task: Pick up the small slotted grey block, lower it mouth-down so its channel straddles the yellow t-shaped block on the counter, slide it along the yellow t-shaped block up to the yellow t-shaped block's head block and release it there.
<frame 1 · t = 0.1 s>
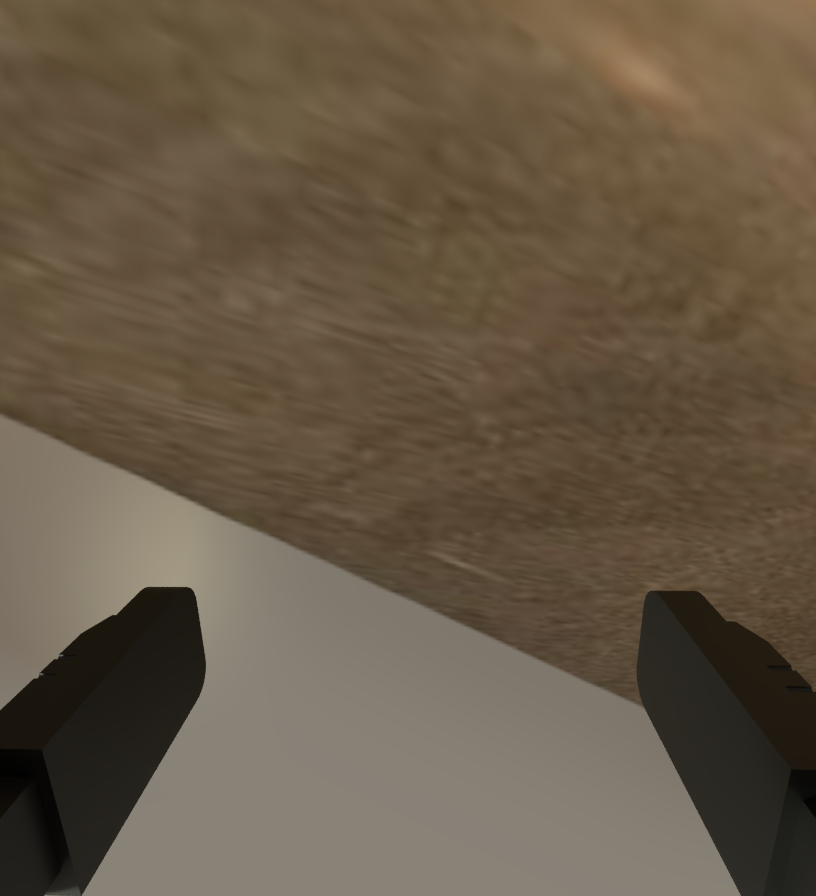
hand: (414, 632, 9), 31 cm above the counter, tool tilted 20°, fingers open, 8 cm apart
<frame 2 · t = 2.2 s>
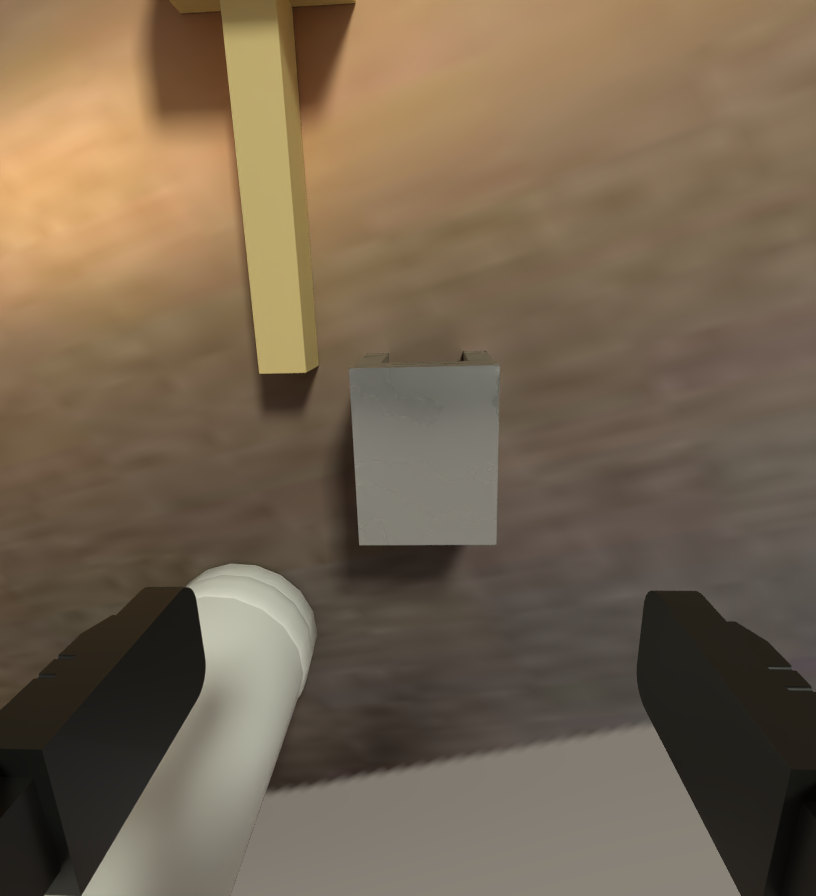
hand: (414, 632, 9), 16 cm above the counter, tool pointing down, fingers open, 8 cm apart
slotted grey block: (427, 426, 25), on the counter
bottle: (248, 623, 29), on the counter
yellow t-shaped block: (283, 202, 22), on the counter
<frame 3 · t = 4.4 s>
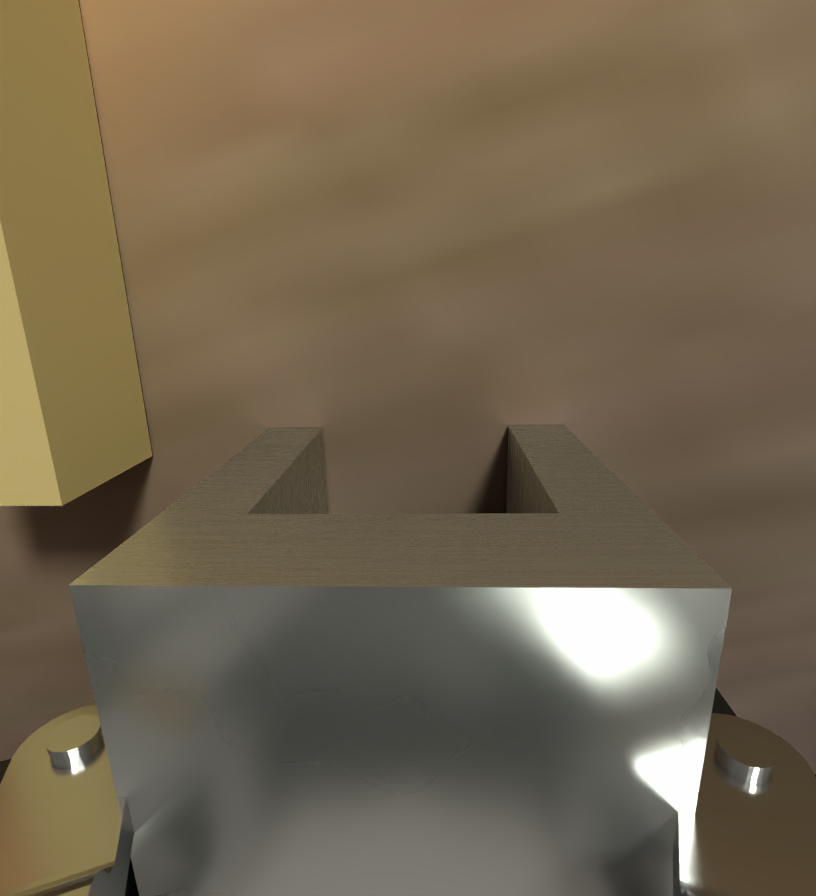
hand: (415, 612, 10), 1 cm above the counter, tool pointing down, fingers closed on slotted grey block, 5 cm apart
slotted grey block: (417, 596, 10), on the counter, touching gripper
yellow t-shaped block: (19, 23, 8), on the counter
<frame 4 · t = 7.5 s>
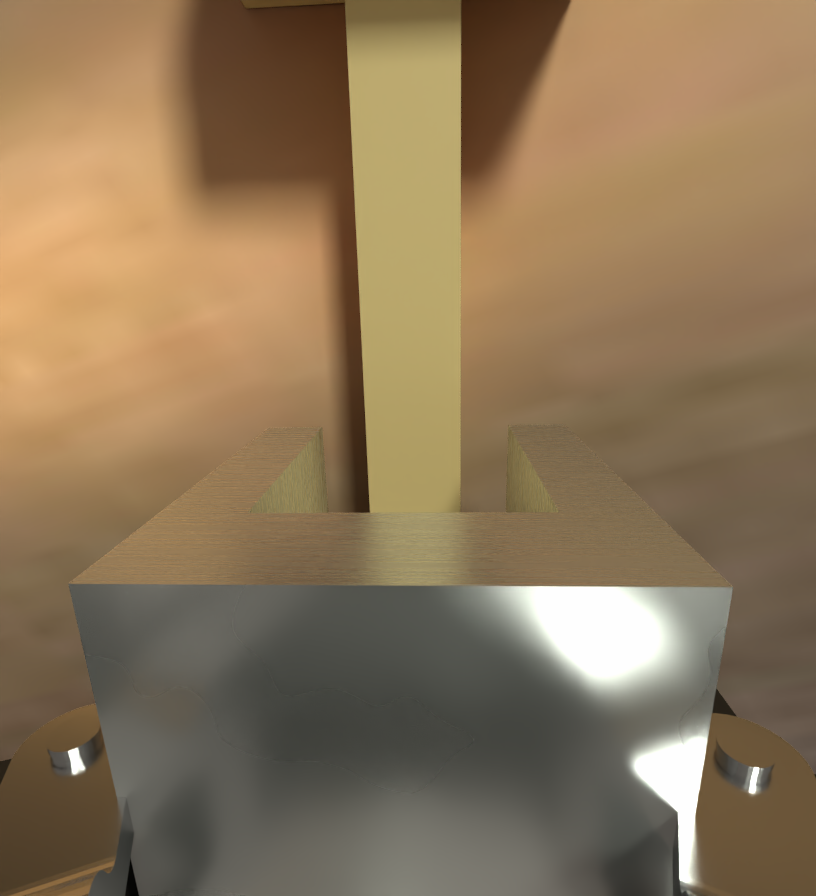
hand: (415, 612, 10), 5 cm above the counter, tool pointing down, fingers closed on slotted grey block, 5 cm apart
slotted grey block: (417, 595, 10), point 4 cm above the counter, touching gripper
yellow t-shaped block: (415, 336, 13), on the counter
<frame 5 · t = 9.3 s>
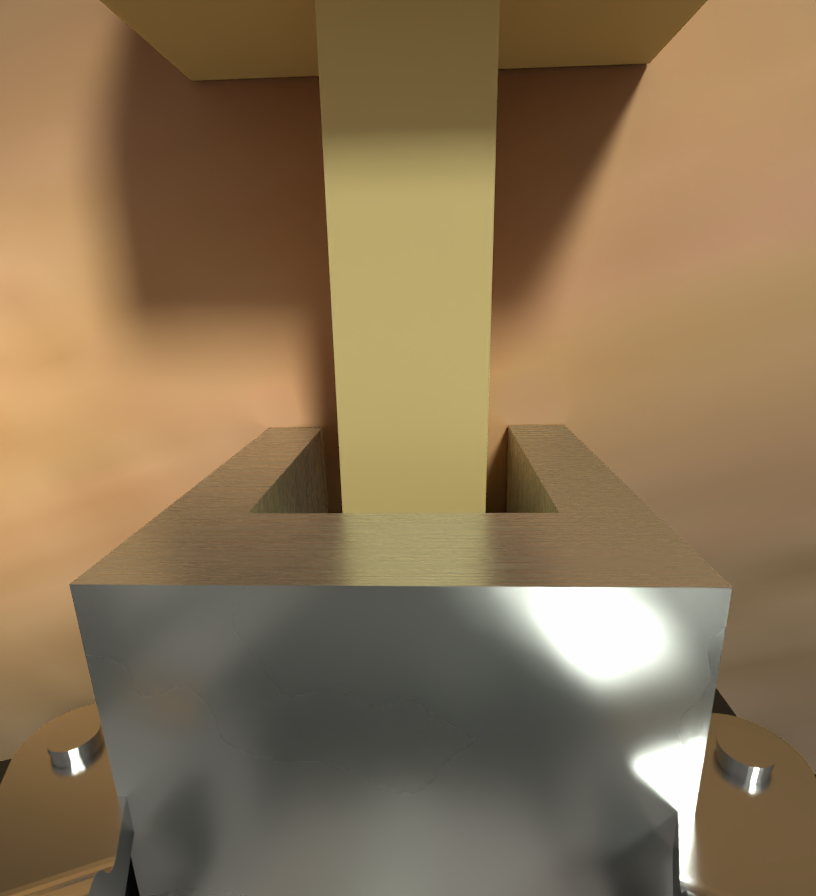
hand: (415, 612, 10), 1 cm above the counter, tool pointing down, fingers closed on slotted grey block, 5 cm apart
slotted grey block: (417, 595, 10), resting in yellow t-shaped block, touching gripper
yellow t-shaped block: (419, 499, 10), on the counter
when the fingers open (1 cm above the counter, at t = 10.6 s): slotted grey block stays where it is, resting in yellow t-shaped block.
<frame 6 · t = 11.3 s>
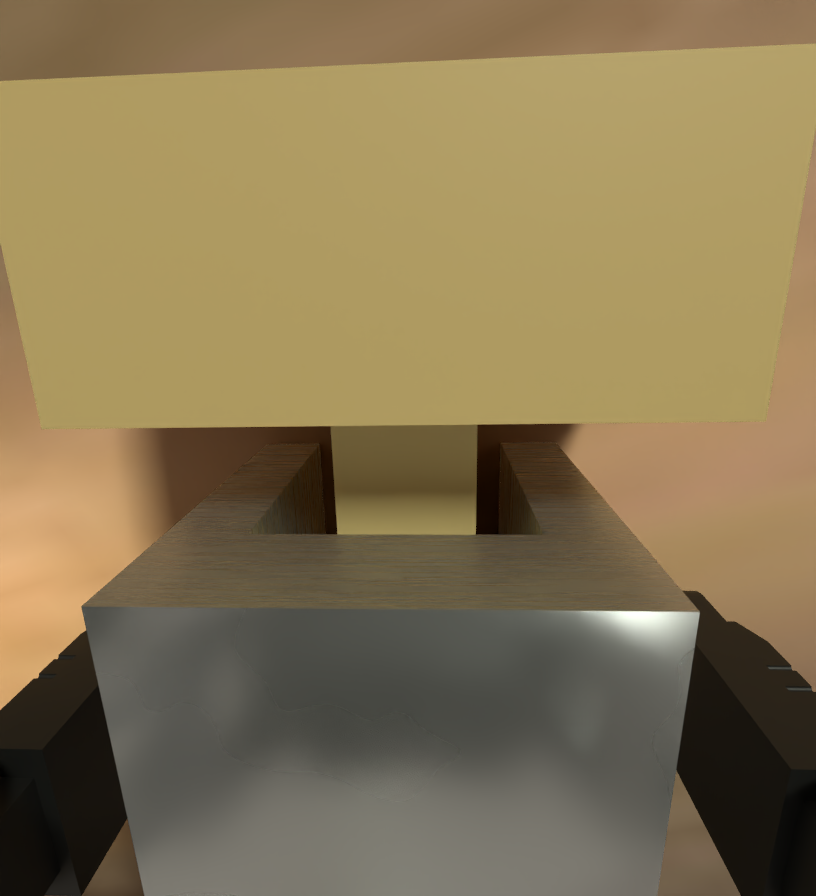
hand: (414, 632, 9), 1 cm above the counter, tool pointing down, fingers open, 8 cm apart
slotted grey block: (412, 605, 11), resting in yellow t-shaped block
yellow t-shaped block: (417, 692, 11), on the counter
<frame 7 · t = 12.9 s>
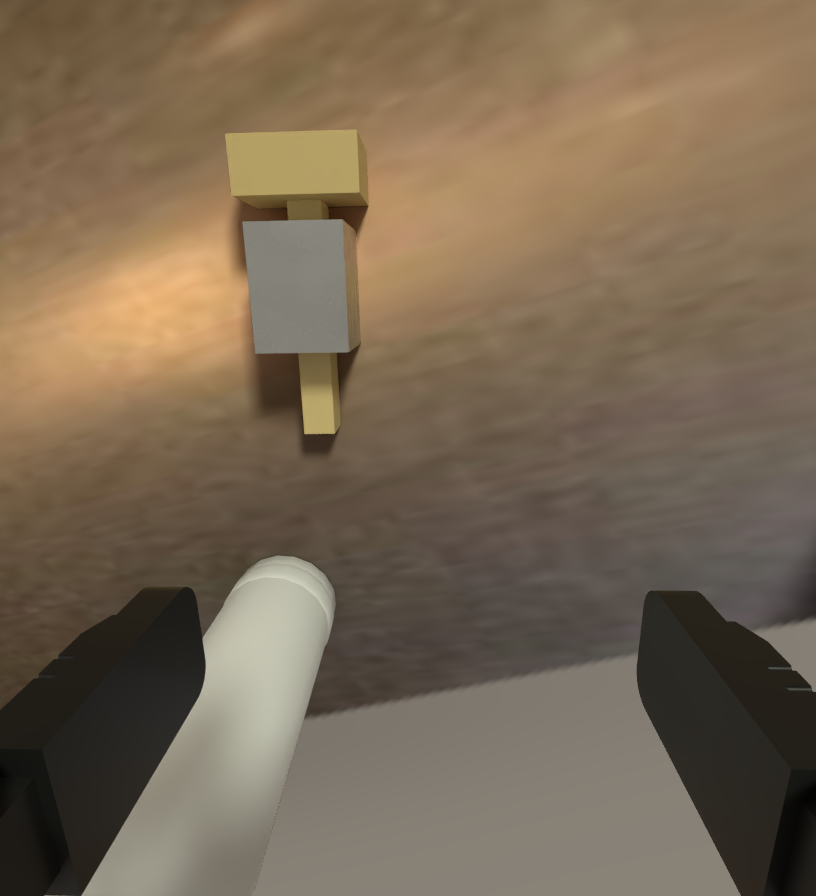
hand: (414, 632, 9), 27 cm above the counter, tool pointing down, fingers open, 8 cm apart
slotted grey block: (317, 289, 34), resting in yellow t-shaped block
bottle: (287, 597, 41), on the counter
yellow t-shaped block: (320, 322, 35), on the counter
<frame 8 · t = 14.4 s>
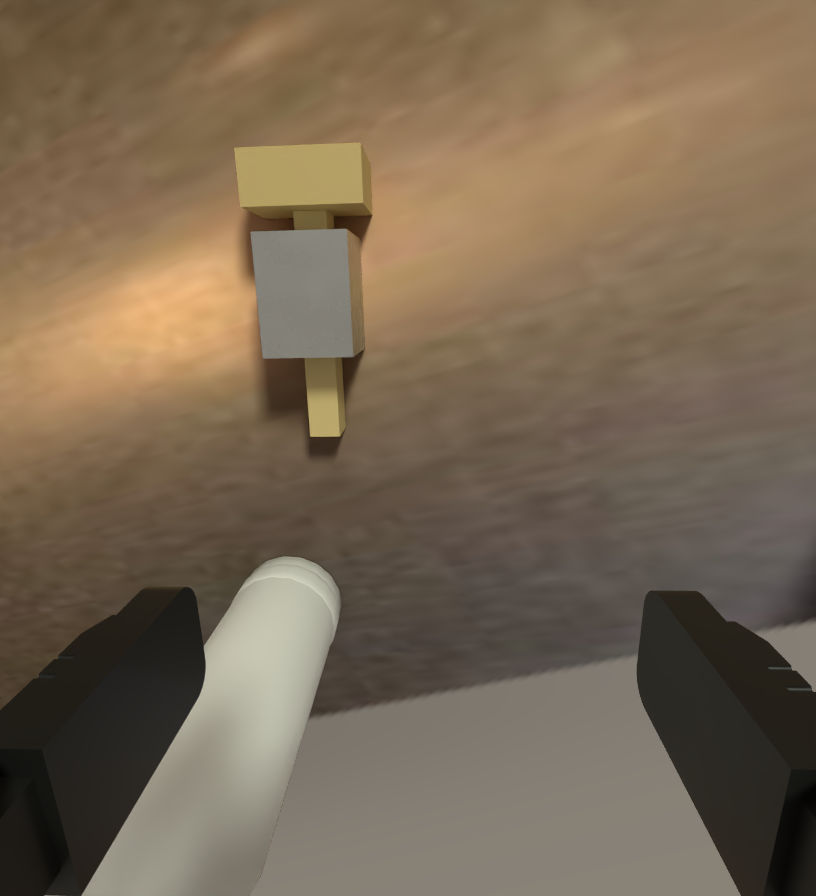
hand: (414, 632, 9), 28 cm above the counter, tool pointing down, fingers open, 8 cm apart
slotted grey block: (322, 296, 35), resting in yellow t-shaped block
bottle: (293, 597, 42), on the counter
yellow t-shaped block: (325, 328, 36), on the counter
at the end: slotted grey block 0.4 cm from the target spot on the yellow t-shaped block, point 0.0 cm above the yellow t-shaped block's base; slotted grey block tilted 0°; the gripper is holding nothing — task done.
